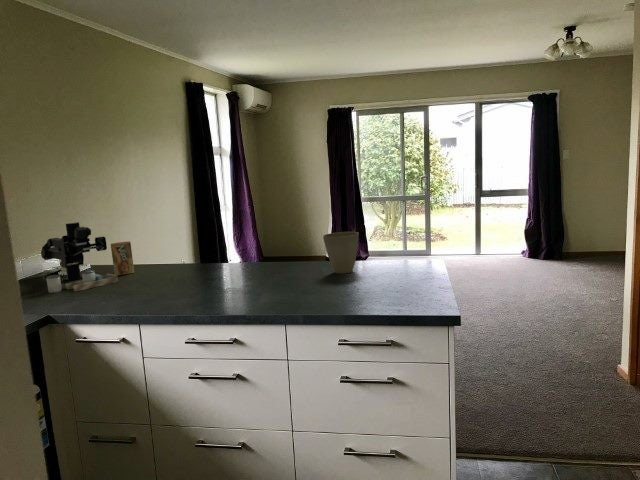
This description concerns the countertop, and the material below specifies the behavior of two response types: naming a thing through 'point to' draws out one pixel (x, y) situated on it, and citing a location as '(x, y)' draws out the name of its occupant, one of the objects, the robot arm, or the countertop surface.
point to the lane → (92, 283)
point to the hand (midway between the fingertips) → (93, 247)
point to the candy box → (122, 258)
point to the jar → (54, 283)
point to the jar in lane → (88, 276)
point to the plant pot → (342, 250)
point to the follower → (98, 277)
